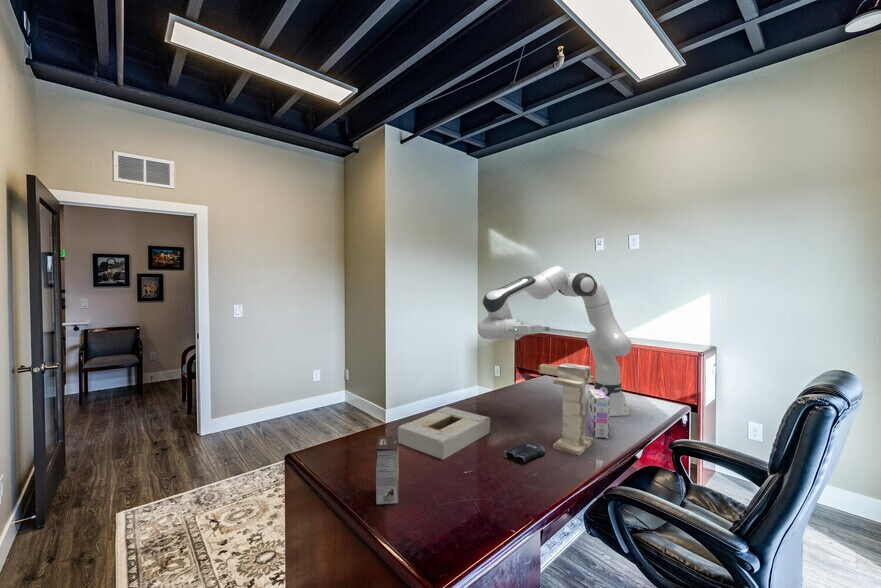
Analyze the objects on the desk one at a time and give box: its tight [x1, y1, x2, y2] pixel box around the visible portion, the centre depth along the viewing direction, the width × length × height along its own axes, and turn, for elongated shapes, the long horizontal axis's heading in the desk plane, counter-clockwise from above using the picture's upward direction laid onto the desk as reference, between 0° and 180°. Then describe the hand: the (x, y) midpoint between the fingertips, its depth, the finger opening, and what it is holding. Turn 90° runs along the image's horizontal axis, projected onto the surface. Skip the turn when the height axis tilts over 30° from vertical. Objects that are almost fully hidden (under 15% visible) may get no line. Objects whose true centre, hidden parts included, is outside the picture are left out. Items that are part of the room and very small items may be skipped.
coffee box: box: [375, 435, 400, 505], centre depth 113 cm, size 9×6×16 cm
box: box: [397, 406, 491, 461], centre depth 155 cm, size 23×8×32 cm
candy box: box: [587, 388, 610, 440], centre depth 160 cm, size 14×6×16 cm, turn 168°
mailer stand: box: [552, 362, 595, 456], centre depth 147 cm, size 15×10×30 cm, turn 140°
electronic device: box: [503, 441, 545, 465], centre depth 139 cm, size 9×6×15 cm
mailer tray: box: [538, 363, 588, 379], centre depth 150 cm, size 4×18×3 cm, turn 50°
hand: (547, 329), depth 157 cm, fingers open, 8 cm apart
